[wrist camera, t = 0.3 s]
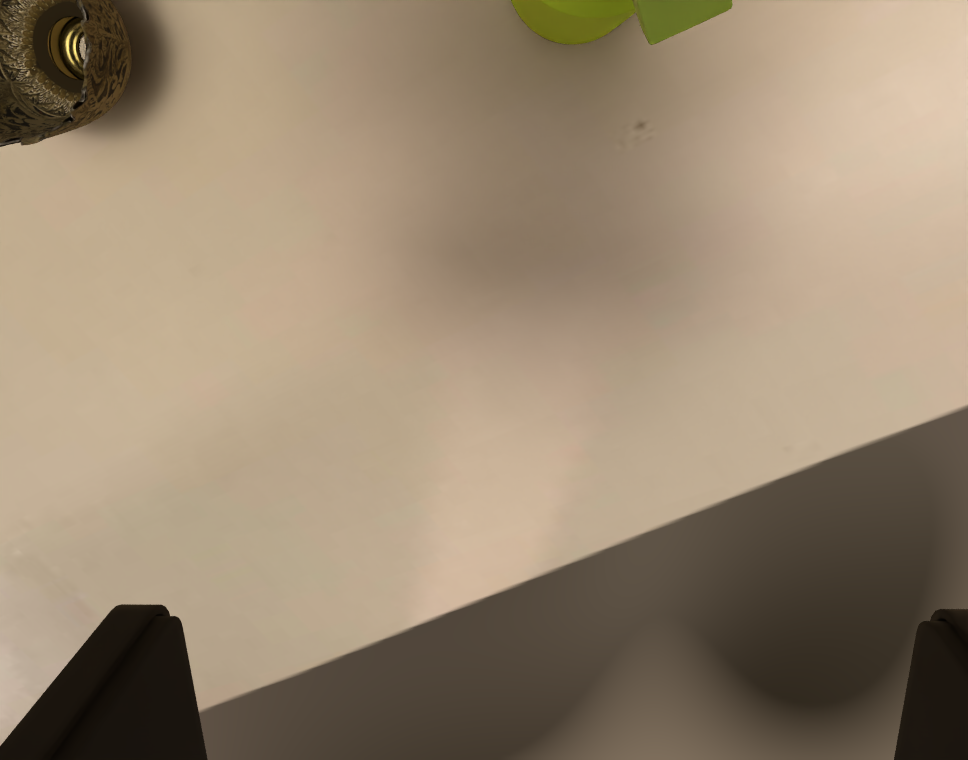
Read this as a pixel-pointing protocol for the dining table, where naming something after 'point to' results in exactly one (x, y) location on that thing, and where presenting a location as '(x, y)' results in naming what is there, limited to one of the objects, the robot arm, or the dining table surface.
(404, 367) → the dining table surface
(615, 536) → the dining table surface
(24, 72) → the dark brown rounded piece
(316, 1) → the dining table surface
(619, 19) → the soap dispenser
